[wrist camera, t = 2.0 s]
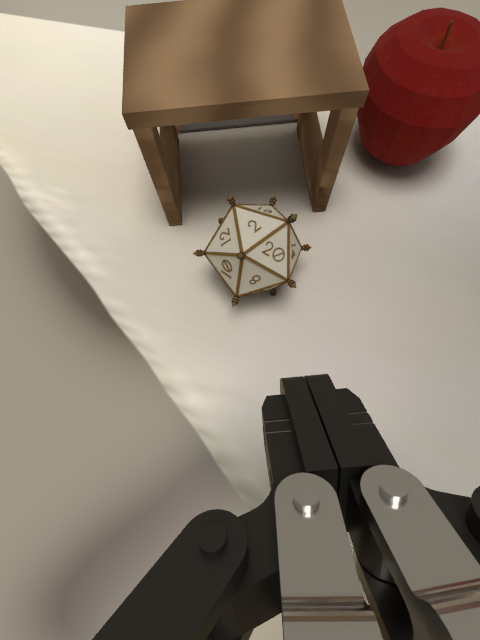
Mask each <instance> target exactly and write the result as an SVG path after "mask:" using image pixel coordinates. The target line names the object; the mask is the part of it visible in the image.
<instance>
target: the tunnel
mask: <svg viewBox="0 0 480 640" xmlns="http://www.w3.org/2000/svg"><path fill="white" fill-rule="evenodd" d="M125 15H126V17H125V41H124V69H123V97H122V115H123V117H124V120H125V122H126V125H127V127H128V130H130V129H133V131H134V134H135V136H136V139H137V142H138V144H139V147H140V149H141V152H142V155H143V157H144V160H145V162H146V165H147V168H148V170H149V173H150V175H151V178H152V181H153V183H154V186H155V188H156V191H157V194H158V196H159V199H160V201H161V204H162V207H163V209H164V212H165V214H166V217H167V220H168V222H169V225H170V226H174V225H182V211H181V186H180V160H179V139H178V135H177V131H176V127H175V125H182V124H193V123H203V122H214V121H224V120H235V119H245V118H256V117H266V116H276V115H287V114H297V113H299V116H298V123H297V133H298V138H299V143H300V148H301V154H302V159H303V164H304V169H305V174H306V179H307V184H308V189H309V194H310V199H311V205H312V210H313V212H320V211H325V210H326V207H327V204H328V201H329V198H330V195H331V191H332V188H333V185H334V182H335V179H336V176H337V173H338V170H339V167H340V164H341V161H342V158H343V155H344V152H345V149H346V146H347V143H348V140H349V137H350V134H351V131H352V128H353V125H354V121H355V118H356V115H357V112H358V109H359V108H360V107H364V104H365V101H366V98H367V95H368V92H369V87H368V84H367V80H366V77H365V74H364V71H363V67H362V64H361V61H360V58H359V54H358V51H357V48H356V45H355V41H354V38H353V35H352V32H351V28H350V25H349V22H348V19H347V15H346V12H345V9H344V6H343V2H342V0H184V1H174V2H163V3H152V4H142V5H132V6H126V13H125ZM329 110H331V111H330V115H329V119H328V123H327V127H326V131H325V135H324V139H323V138H322V134H321V130H320V125H319V121H318V116H317V112H318V111H329ZM157 127H160V136H159V133H158V130H157Z"/></svg>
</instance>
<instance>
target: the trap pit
mask: <svg viewBox="0 0 480 640" xmlns="http://www.w3.org/2000/svg"><path fill="white" fill-rule="evenodd" d="M298 116H299V113H297V114H287V115H276V116H266V117H256V118H245V119H235V120H224V121H214V122H203V123H193V124H182V125H175V127H176V131H177V133H185V132H195V131H206V130H216V129H227V128H237V127H248V126H258V125H269V124H279V123H289V122H298Z"/></svg>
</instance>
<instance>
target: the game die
mask: <svg viewBox="0 0 480 640" xmlns="http://www.w3.org/2000/svg"><path fill="white" fill-rule="evenodd" d="M227 200H228V201H229V204H231V207H230V209H229V211H228V212H227V214H226V216H225V217H224V219H223V218H220V219H219V224H220V226H219V227H218V229H217V231H216V232H215V234H214V236H213V237H212V239H211V240H210V242H209V244H208V245H207V247H206V249H205V250H204V251H202V250H197V251H196V252H194V253H193V254H195V255H196V256H198V257H199V256H202V255H205V256H206V258H207V259H208V260H209V262H210V263H211V264H212V266H213V267H214V268H215V270H216V271H217V272H218V274H219V275H220V276H221V278H222V279H223V280H224V282H225V283H226V284H227V286H228V287H229V289H230V290H231V291H232V293H233V294H234V295H235V297H234V298H233V300H232V301H231V302H232V305H233V307H234V306H235V305H236V304H238V301H239V300H238V298H239V297H242V296H246V295H251V294H255V293H259V292H263V291H267V290H270V292H271V295H274V296H276V293H277V292H276V290H275V288H276V287H278V286H280V285H282V284H284V283H286V282H287V283H288V285H289V286H290V287H291V288H292V287H293V288H296V284H295V282H294V281H293V280H291V279H290V277H291V275H292V272H293V270H294V267H295V265H296V262H297V260H298V257H299V255H300V252H301V250H304V251H308V250H309V249H310V248H311V247H310V246H309V245H308V244H307V245H303V246H301V244H300V242H299V240H298V238H297V236H296V234H295V232H294V230H293V228H292V225H291V223H293V222H294V221H296V217H297V214H291V216H289V218H288V219H287V218H285V217H284V216H283V215H282V214H281V213H280V212H279V211H278V210H277V209H276V208H275V207H273V205H274V204H275V202H276V201H277V200H276V198H275V196H274V197H273V198H270V201H269V202H270V204H269V205H254V204H235V200H234V197H233V196H231V195H229V194H228V199H227Z"/></svg>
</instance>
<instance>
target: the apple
mask: <svg viewBox="0 0 480 640" xmlns="http://www.w3.org/2000/svg"><path fill="white" fill-rule="evenodd" d="M363 71H364V74H365V77H366V80H367V84H368V87H369V92H368V95H367V98H366V101H365V104H364V107H360V108H359V109H358V112H357V117H358V123H359V129H360V135H361V139H362V143H363V146H364V148H365V149H366V150H367V151H368V152H369V153H370V154H371V155H372V156H373V157H375V158H377V159H378V160H380V161H382V162H384V163H386V164H391V165H396V166H405V165H410V164H415V163H417V162H419V161H421V160H422V159H424V158H426V157H428V156H429V155H431V154H433V153H435V152H436V151H438V150H440V149H441V148H443V147H444V146H446V145H447V144H449V143H451V142H452V141H453V140H454V139H455V138H456V137H457V136H458V135H459V134H460V133H461V132H462V131H463V130H464V129H465V128H466V127H467V126H468V125H469V124H470V123H471V122H472V121H473V120H474V119H475V118H476V117H477V116H478V115H479V114H480V22H479V21H478V20H477V19H476V18H474V17H472V16H470V15H467V14H465V13H462V12H460V11H455V10H451V9H445V8H434V9H428V10H422V11H420V12H418V13H416V14H414V15H412V16H409V17H407V18H405V19H404V20H402V21H400V22H398V23H396V24H394V25H392V26H391V27H390V28H389V29H388V30H387V31H386V32H384V33H383V34H382V35H381V36H380V37H379V39H378V40H377V42H376V44H375V45H374V47H373V48H372V50H371V51H370V53H369V54H368V56H367V58H366V59H365V63H364V66H363Z"/></svg>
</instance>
